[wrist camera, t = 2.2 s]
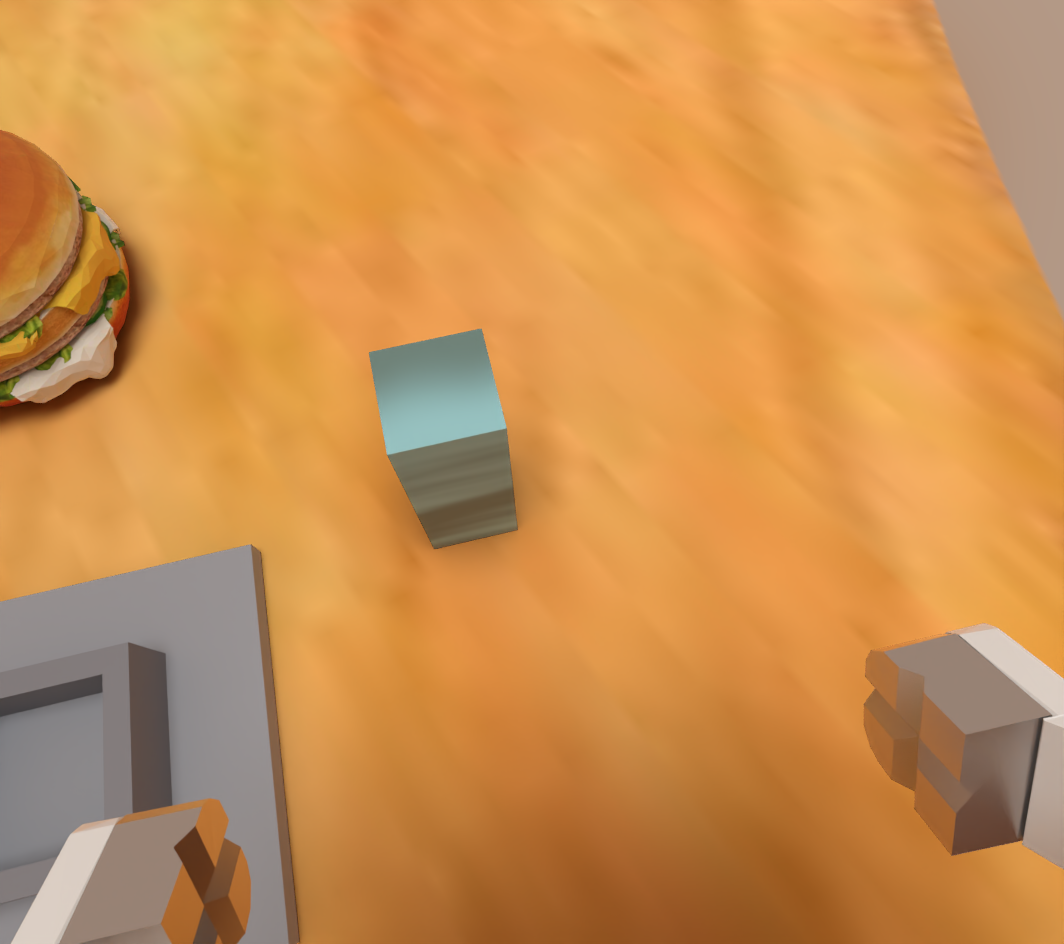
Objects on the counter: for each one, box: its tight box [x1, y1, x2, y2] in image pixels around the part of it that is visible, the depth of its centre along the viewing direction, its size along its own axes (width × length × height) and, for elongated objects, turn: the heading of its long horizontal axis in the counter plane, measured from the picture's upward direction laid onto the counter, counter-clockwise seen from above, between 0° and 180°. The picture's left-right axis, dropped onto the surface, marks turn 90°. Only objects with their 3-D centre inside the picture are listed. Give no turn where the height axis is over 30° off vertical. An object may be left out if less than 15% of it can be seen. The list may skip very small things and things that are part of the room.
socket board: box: [0, 545, 299, 944], centre depth 28 cm, size 16×16×4 cm
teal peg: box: [369, 329, 518, 549], centre depth 30 cm, size 4×4×11 cm
